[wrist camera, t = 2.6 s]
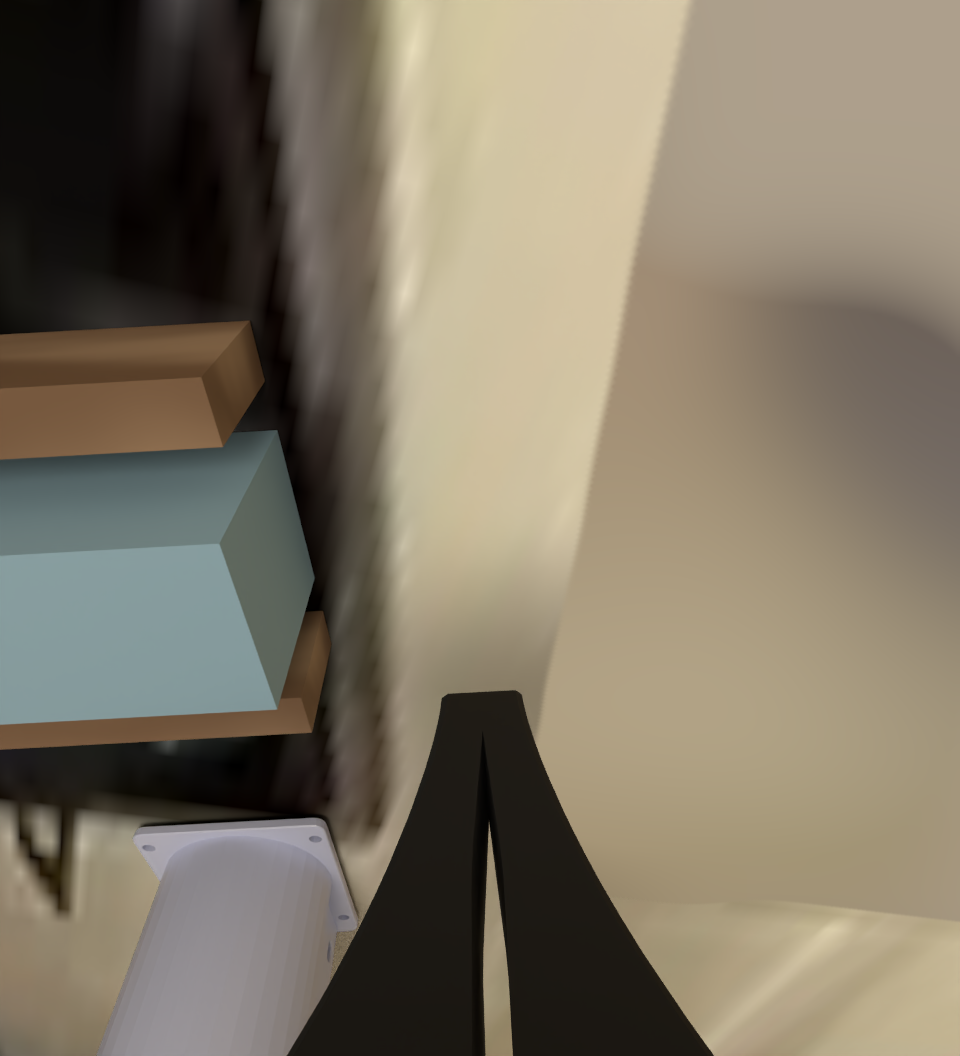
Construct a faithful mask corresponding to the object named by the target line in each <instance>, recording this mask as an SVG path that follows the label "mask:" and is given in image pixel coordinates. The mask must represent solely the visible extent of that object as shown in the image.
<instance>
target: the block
mask: <svg viewBox="0 0 960 1056" xmlns="http://www.w3.org/2000/svg"><path fill="white" fill-rule="evenodd" d="M314 579H315V577H314V573H313V569H312V565H311V562H310V558H309V554H308V550H307V546H306V542H305V538H304V534H303V530H302V526H301V522H300V518H299V514H298V510H297V506H296V502H295V498H294V494H293V490H292V486H291V482H290V478H289V474H288V470H287V466H286V462H285V459H284V455H283V451H282V447H281V443H280V439H279V435H278V431H277V430H270V431H252V432H235V433H232V434H231V435H230V437H229V438H228V440H227V442H226V443H225V445H224V446H223V447H216V448H198V449H181V450H163V451H145V452H127V453H109V454H91V455H73V456H56V457H38V458H20V459H2V460H0V725H4V724H22V723H40V722H59V721H77V720H95V719H113V718H132V717H150V716H168V715H187V714H205V713H223V712H241V711H260V710H277V708H278V705H279V701H280V698H281V694H282V691H283V687H284V684H285V680H286V677H287V673H288V670H289V666H290V663H291V659H292V656H293V652H294V649H295V645H296V642H297V638H298V635H299V631H300V628H301V624H302V621H303V617H304V614H305V610H306V607H307V603H308V600H309V596H310V593H311V589H312V586H313V582H314Z"/></svg>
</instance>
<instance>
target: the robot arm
mask: <svg viewBox="0 0 960 1056" xmlns="http://www.w3.org/2000/svg"><path fill="white" fill-rule="evenodd" d="M489 824H490V831H491V839H492V847H493V855H494V862H495V870H496V878H497V885H498V893H499V901H500V908H501V916H502V924H503V931H504V939H505V947H506V956H507V966H508V976H509V991H510V1009H511V1027H512V1045H513V1056H714V1055H713V1054H712V1052H711V1051H710V1050H709V1048H708V1047H707V1045H706V1044H705V1043H704V1041H703V1040H702V1038H701V1037H700V1036H699V1034H698V1033H697V1032H696V1030H695V1029H694V1027H693V1026H692V1025H691V1023H690V1022H689V1021H688V1019H687V1018H686V1016H685V1015H684V1013H683V1012H682V1010H681V1009H680V1007H679V1006H678V1004H677V1003H676V1001H675V1000H674V998H673V997H672V995H671V994H670V992H669V991H668V989H667V988H666V987H665V985H664V984H663V982H662V981H661V979H660V978H659V976H658V975H657V973H656V972H655V970H654V969H653V967H652V966H651V964H650V963H649V961H648V960H647V958H646V957H645V955H644V954H643V952H642V951H641V949H640V948H639V946H638V944H637V943H636V941H635V939H634V938H633V936H632V935H631V933H630V931H629V930H628V928H627V927H626V925H625V923H624V922H623V920H622V918H621V917H620V915H619V913H618V912H617V910H616V908H615V907H614V905H613V903H612V902H611V900H610V898H609V896H608V895H607V893H606V891H605V890H604V888H603V886H602V884H601V883H600V881H599V879H598V877H597V876H596V874H595V872H594V870H593V868H592V866H591V864H590V862H589V861H588V859H587V857H586V855H585V853H584V851H583V849H582V847H581V846H580V844H579V841H578V839H577V837H576V836H575V834H574V832H573V830H572V828H571V826H570V823H569V821H568V819H567V817H566V815H565V813H564V811H563V809H562V807H561V804H560V802H559V800H558V798H557V795H556V793H555V791H554V789H553V787H552V784H551V782H550V780H549V777H548V775H547V773H546V770H545V768H544V765H543V763H542V760H541V758H540V755H539V752H538V749H537V747H536V744H535V741H534V738H533V735H532V732H531V729H530V726H529V723H528V719H527V716H526V712H525V708H524V703H523V698H522V694H520V693H519V692H517V691H516V690H512V691H493V692H474V693H455V694H447V695H446V696H444V697H443V698H442V701H441V709H440V715H439V720H438V724H437V729H436V733H435V737H434V741H433V745H432V748H431V752H430V755H429V758H428V762H427V765H426V768H425V771H424V774H423V777H422V780H421V783H420V786H419V789H418V792H417V795H416V798H415V800H414V803H413V806H412V809H411V812H410V814H409V817H408V819H407V822H406V824H405V827H404V829H403V832H402V834H401V837H400V839H399V841H398V844H397V846H396V849H395V851H394V854H393V856H392V859H391V861H390V863H389V866H388V868H387V870H386V872H385V874H384V877H383V879H382V881H381V883H380V886H379V888H378V890H377V892H376V894H375V896H374V898H373V900H372V902H371V905H370V907H369V909H368V911H367V913H366V915H365V917H364V919H363V921H362V923H361V925H360V927H359V929H358V931H357V933H356V935H355V937H354V938H353V940H352V942H351V944H350V946H349V948H348V950H347V952H346V954H345V955H344V957H343V959H342V961H341V963H340V965H339V967H338V969H337V971H336V972H335V974H334V976H333V978H332V980H331V981H330V978H331V971H332V964H333V957H334V949H335V942H336V935H337V932H344V931H353V930H355V929H356V928H357V925H358V917H357V914H356V911H355V908H354V905H353V902H352V899H351V896H350V893H349V890H348V887H347V884H346V881H345V878H344V875H343V872H342V869H341V866H340V863H339V860H338V857H337V854H336V851H335V848H334V845H333V842H332V839H331V836H330V833H329V830H328V827H327V824H326V823H325V821H323V820H322V819H319V818H296V819H277V820H259V821H240V822H222V823H203V824H185V825H166V826H148V827H141V828H139V829H137V830H136V832H135V834H134V837H133V842H134V843H135V845H136V846H137V848H138V849H139V851H140V852H141V854H142V855H143V857H144V858H145V860H146V861H147V863H148V864H149V866H150V867H151V869H152V870H153V872H154V873H155V875H156V876H157V878H158V879H159V881H160V884H159V887H158V890H157V892H156V895H155V898H154V901H153V903H152V906H151V909H150V911H149V914H148V917H147V920H146V922H145V925H144V928H143V930H142V933H141V936H140V939H139V941H138V944H137V947H136V949H135V952H134V955H133V958H132V960H131V963H130V966H129V968H128V971H127V974H126V976H125V979H124V982H123V985H122V987H121V990H120V993H119V995H118V998H117V1001H116V1004H115V1006H114V1009H113V1012H112V1014H111V1017H110V1020H109V1023H108V1025H107V1028H106V1031H105V1033H104V1036H103V1039H102V1041H101V1044H100V1047H99V1050H98V1052H97V1055H96V1056H485V1028H484V998H483V947H484V924H485V900H486V877H487V854H488V830H489Z"/></svg>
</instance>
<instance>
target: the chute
mask: <svg viewBox="0 0 960 1056" xmlns="http://www.w3.org/2000/svg"><path fill="white" fill-rule="evenodd" d="M264 382H265V379H264V375H263V371H262V367H261V363H260V359H259V356H258V352H257V348H256V344H255V340H254V336H253V332H252V328H251V324H250V321H236V322H218V323H200V324H182V325H165V326H147V327H129V328H112V329H94V330H76V331H59V332H41V333H23V334H6V335H0V460H2V459H20V458H38V457H56V456H73V455H91V454H109V453H127V452H145V451H163V450H181V449H198V448H216V447H223V446H224V445H225V443H226V442H227V440H228V438H229V437H230V435H231V434H232V432H233V431H234V429H235V427H236V426H237V424H238V423H239V421H240V420H241V418H242V416H243V415H244V413H245V412H246V410H247V409H248V407H249V405H250V404H251V402H252V401H253V399H254V398H255V396H256V394H257V393H258V391H259V390H260V388H261V387H262V385H263V383H264ZM330 649H331V641H330V637H329V633H328V629H327V625H326V621H325V617H324V613H323V611H310V612H305V614H304V617H303V621H302V624H301V628H300V631H299V635H298V638H297V642H296V645H295V649H294V652H293V656H292V659H291V663H290V666H289V670H288V673H287V677H286V680H285V684H284V687H283V691H282V694H281V698H280V701H279V705H278V708H277V710H260V711H241V712H223V713H205V714H187V715H168V716H150V717H132V718H113V719H95V720H77V721H59V722H40V723H22V724H4V725H0V750H1V749H19V748H38V747H56V746H74V745H93V744H111V743H129V742H147V741H166V740H184V739H202V738H221V737H239V736H257V735H276V734H294V733H312V730H313V725H314V721H315V716H316V712H317V707H318V703H319V698H320V694H321V689H322V685H323V680H324V676H325V671H326V667H327V662H328V658H329V653H330Z"/></svg>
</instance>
